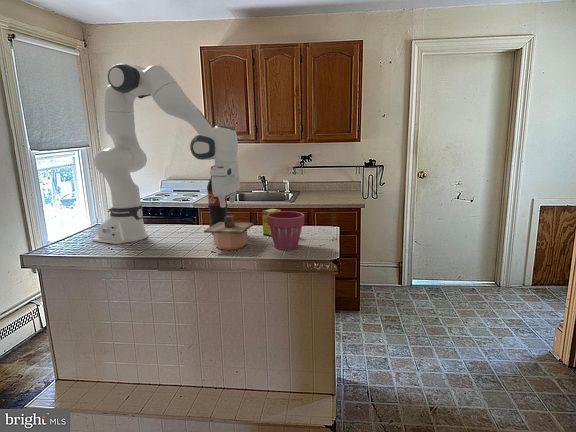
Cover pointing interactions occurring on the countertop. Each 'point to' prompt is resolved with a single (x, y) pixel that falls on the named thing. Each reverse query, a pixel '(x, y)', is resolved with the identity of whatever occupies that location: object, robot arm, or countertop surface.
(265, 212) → the supplement box
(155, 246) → the countertop surface
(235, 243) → the terracotta bowl
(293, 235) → the plant pot
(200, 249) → the countertop surface
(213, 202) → the cola bottle
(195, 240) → the countertop surface
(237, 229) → the walnut lid
